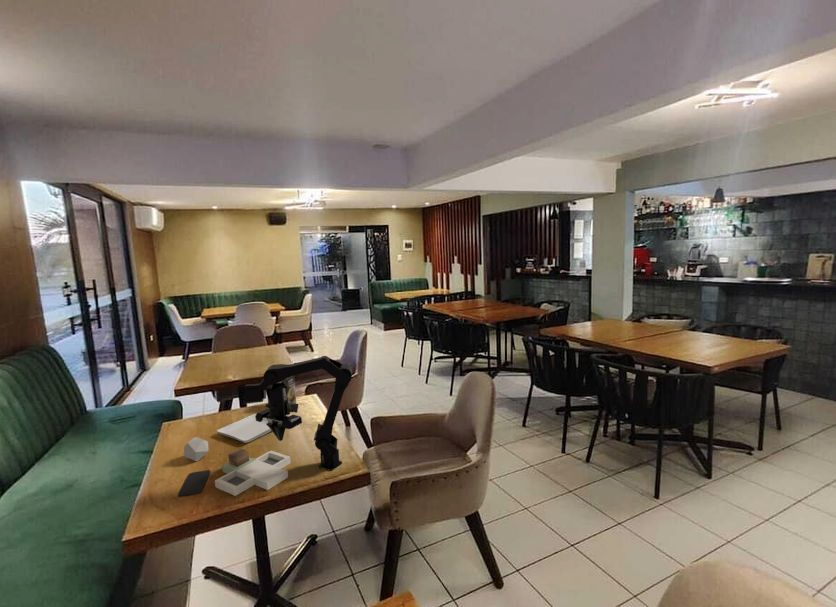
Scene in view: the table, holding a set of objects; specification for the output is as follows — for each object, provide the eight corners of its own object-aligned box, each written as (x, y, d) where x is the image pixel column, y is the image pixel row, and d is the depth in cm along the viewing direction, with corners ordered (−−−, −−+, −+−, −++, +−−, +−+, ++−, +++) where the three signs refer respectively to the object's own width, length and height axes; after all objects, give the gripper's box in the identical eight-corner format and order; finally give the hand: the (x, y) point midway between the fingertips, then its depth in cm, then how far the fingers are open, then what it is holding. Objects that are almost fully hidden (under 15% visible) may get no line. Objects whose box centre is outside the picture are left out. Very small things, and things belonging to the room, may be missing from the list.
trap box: (303, 467, 153) (303, 461, 153) (248, 502, 133) (248, 494, 132) (259, 452, 166) (259, 446, 165) (203, 481, 145) (202, 475, 145)
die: (214, 458, 164) (212, 433, 168) (198, 457, 156) (196, 431, 160) (196, 465, 164) (194, 440, 169) (178, 465, 156) (177, 439, 161)
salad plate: (245, 447, 171) (244, 440, 171) (215, 437, 182) (215, 429, 182) (285, 428, 189) (285, 421, 188) (256, 419, 200) (255, 413, 199)
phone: (176, 496, 137) (189, 472, 151) (177, 498, 137) (189, 474, 151) (201, 492, 138) (211, 469, 153) (201, 494, 139) (211, 471, 153)
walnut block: (249, 460, 154) (248, 450, 154) (237, 467, 150) (236, 456, 150) (240, 457, 157) (240, 448, 156) (229, 463, 153) (228, 453, 152)
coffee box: (288, 410, 210) (286, 380, 207) (277, 409, 211) (274, 379, 209) (297, 403, 218) (294, 374, 216) (286, 403, 220) (283, 374, 218)
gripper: (310, 395, 150) (314, 435, 152) (276, 389, 159) (280, 427, 162) (287, 406, 140) (292, 449, 143) (252, 399, 150) (257, 439, 152)
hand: (280, 440), depth 150 cm, fingers closed
